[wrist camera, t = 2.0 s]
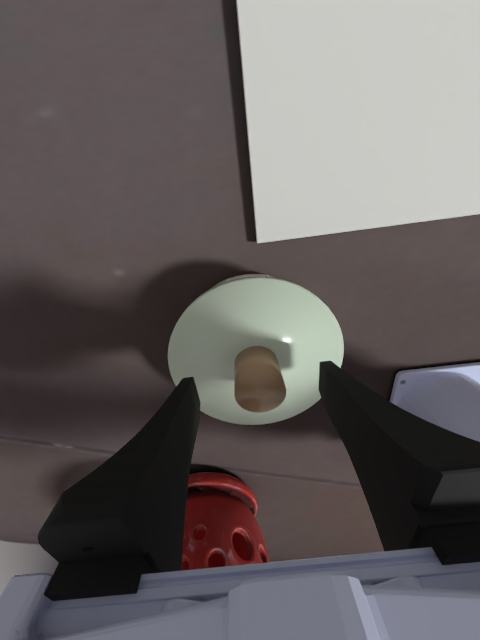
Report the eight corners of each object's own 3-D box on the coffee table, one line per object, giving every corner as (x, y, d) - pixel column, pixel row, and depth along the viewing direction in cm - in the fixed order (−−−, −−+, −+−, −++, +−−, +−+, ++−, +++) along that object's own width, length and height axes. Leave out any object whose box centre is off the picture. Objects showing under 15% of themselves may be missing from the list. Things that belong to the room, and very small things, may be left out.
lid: (334, 409, 17) (354, 449, 14) (190, 425, 18) (182, 467, 15) (346, 264, 12) (381, 279, 9) (147, 289, 13) (122, 312, 10)
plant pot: (227, 529, 31) (224, 698, 20) (138, 502, 28) (76, 689, 17) (287, 482, 26) (324, 668, 16) (189, 443, 23) (150, 647, 12)
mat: (476, 212, 14) (486, 212, 14) (256, 242, 15) (257, 243, 14) (578, -118, 9) (600, -140, 8) (230, -58, 9) (230, -74, 9)
